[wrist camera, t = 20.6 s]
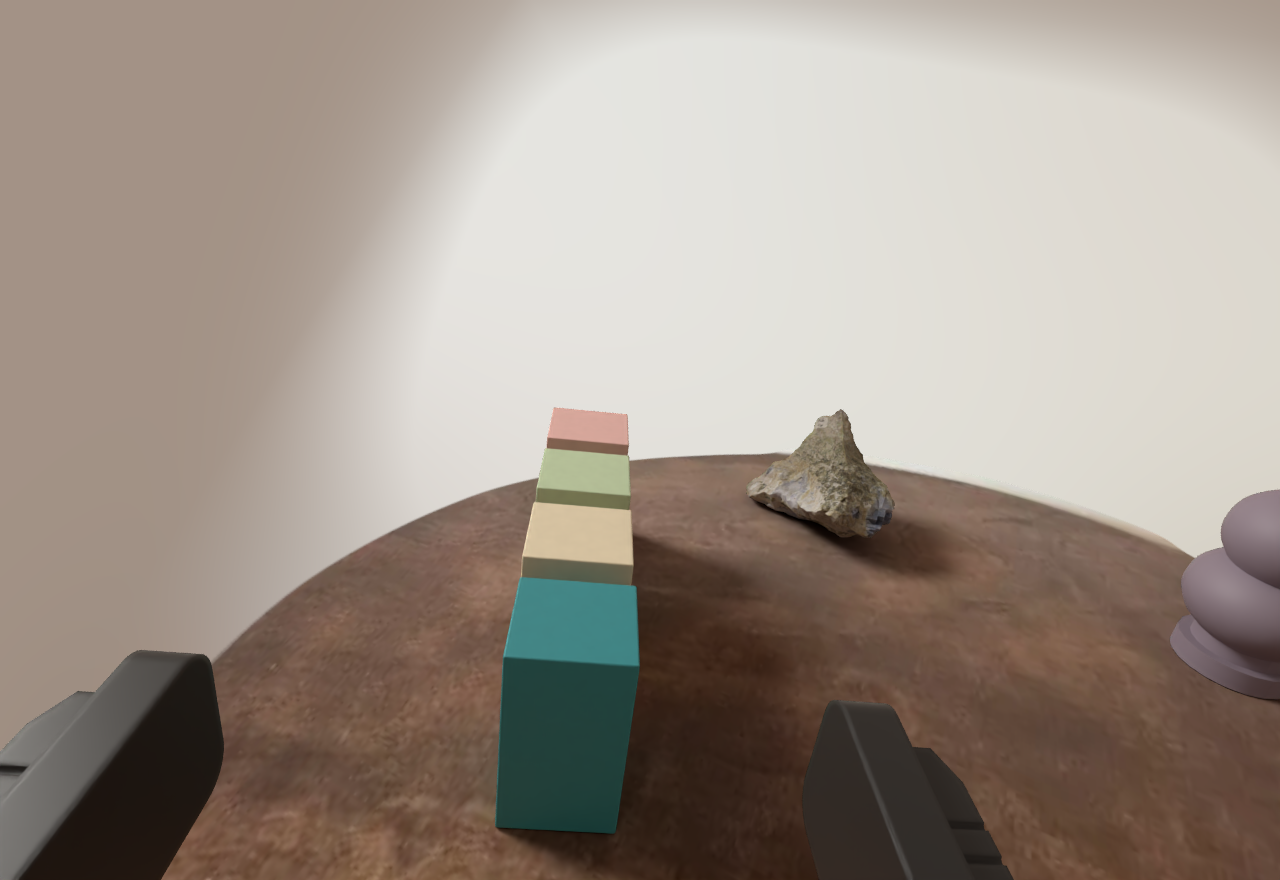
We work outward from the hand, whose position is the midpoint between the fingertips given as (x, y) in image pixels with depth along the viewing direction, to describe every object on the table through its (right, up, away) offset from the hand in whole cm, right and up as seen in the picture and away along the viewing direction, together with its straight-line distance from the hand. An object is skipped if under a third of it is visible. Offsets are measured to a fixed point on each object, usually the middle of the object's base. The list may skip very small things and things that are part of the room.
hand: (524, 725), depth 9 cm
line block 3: (-2, -9, +28) cm, 30 cm away
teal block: (-2, -11, +22) cm, 25 cm away
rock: (+15, -3, +47) cm, 49 cm away
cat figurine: (+39, -11, +37) cm, 55 cm away
